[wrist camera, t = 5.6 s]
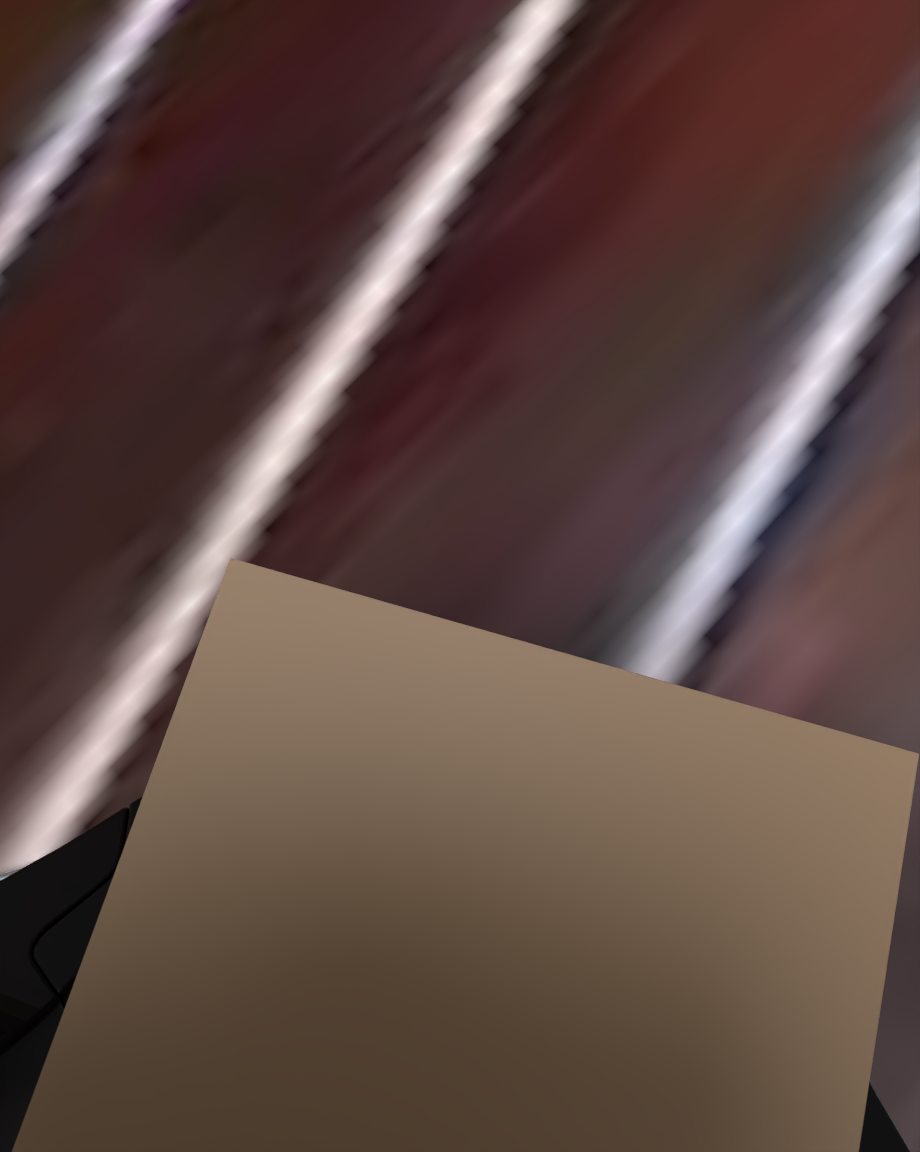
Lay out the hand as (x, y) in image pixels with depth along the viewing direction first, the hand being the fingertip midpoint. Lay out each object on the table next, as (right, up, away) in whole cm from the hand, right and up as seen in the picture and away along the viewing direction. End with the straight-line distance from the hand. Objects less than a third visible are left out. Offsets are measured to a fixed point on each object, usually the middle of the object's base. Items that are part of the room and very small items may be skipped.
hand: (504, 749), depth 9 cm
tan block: (0, -3, +6) cm, 7 cm away
